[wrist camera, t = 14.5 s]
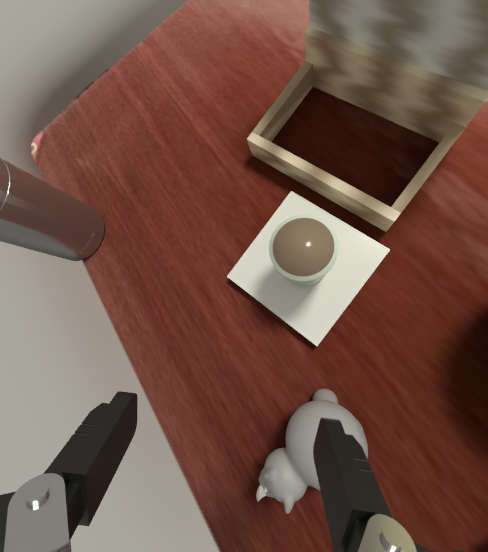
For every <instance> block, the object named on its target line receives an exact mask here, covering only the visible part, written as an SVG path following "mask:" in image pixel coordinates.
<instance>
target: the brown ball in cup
mask: <svg viewBox="0 0 488 552" xmlns="http://www.w3.org/2000/svg"><path fill="white" fill-rule="evenodd" d="M338 251H339V241H338V237H337V234H336V232H335V230H334V229H333V227H332V226H331V225H330V224H329V223H328V222H327V221H325V220H324V219H322V218H320V217H318V216H314V215H309V214H301V215H295V216H292V217H290V218H288V219H286V220H284V221H283V222H281V223H280V224H279V225H278V226H277V227H276V229H275V230H274V232H273V233H272V235H271V238H270V242H269V255H270V259H271V261H272V263H273V265H274V267H275V268H276V270H277V271H278V272H279V273H280V274H281V275H283V276H284V277H286V278H287V279H288V280H289V281H290V282H292V283H293V284H295V285H298V286H303V287H306V286H312V285H315V284H317V283H318V282H320V281H321V280H322V279H323V277H324V276H325V275H326V274H327V273H328V272H329V271H330V269H331V268H332V267H333V265H334V263H335V261H336V259H337V256H338Z"/></svg>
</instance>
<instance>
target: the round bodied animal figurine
mask: <svg viewBox="0 0 488 552" xmlns="http://www.w3.org/2000/svg"><path fill="white" fill-rule="evenodd" d="M321 418H330V419H338V420H340V421H341V424H342V426H343V429H344V431H345V434H349V435H353V436H354V438H355V439H356V440H357V441H358V442H359V444H360V445H361V446H362V448H363V450H364V453H365V455H366V457H367V460H368V447H367V441H366V438H365V435H364V431H363V428H362V426H361V424H360V423H359V421H358V420H356V419H355V417H354V416H353V415H352V414H351V413H350V412H349V411H348V410H346V409H345V408H344V407H342V406H340V405H338V400H337V397H336V395H335V394H334V393H333V392H332V391H331V390H329V389H320V390H318V391H316V392H315V394H314V396H313V401H311V402H308V403H306V404H304V405H302V406H301V407H299V408H298V409H297V410H296V411H295V412H294V414H293V415H292V417H291V418H290V421H289V423H288V426H287V430H286V448H279V449H276V450H274V451H273V452H272V453H271V454H270V455H269V456H268V457H267V459H266V461H265V467H264V468H263V469H262V471H261V474H260V476H259V482H260V486H259V488H258V490H257V494H256V498H257V501H259V500H260V499H261V498H263V497H264V496H269V497H272V498H275V499H276V500H278V501H280V502H284V503H285V512H286V513H287V514H289V513H290V511H291V510H292V508H293V505H294V502H296V501H298V500H299V499H300V498H301V497H302V496H303V495H304V493H305V491H306V488H307V486H312V487H314V488H316V489H318V490H320V486H319V481H318V477H317V473H316V468H315V464H314V458H313V446H314V441H315V437H316V433H317V429H318V425H319V421H320V419H321ZM320 491H321V490H320Z"/></svg>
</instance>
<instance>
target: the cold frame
mask: <svg viewBox="0 0 488 552" xmlns="http://www.w3.org/2000/svg"><path fill="white" fill-rule="evenodd" d="M309 9H310V27H309V28H308V30H307V31H306V32H305V62H304V63H303V65H302V66H301V67H300V69H299V70H298V71H297V73H296V74H295V75H294V77H293V78H292V79H291V81H290V82H289V83H288V85H287V86H286V87H285V89H284V90H283V91H282V93H281V94H280V95H279V97H278V98H277V99H276V101H275V102H274V103H273V105H272V106H271V107H270V109H269V110H268V111H267V113H266V114H265V115H264V117H263V118H262V119H261V121H260V122H259V123H258V125H257V126H256V127H255V129H254V130H253V131H252V133H251V134H250V135H249V137H248V138H247V142H248V145H249V147H250V150H251V153H252V155H253V156H255V157H256V158H258V159H260V160H262V161H263V162H265V163H267V164H269V165H270V166H272V167H274V168H275V169H277V170H279V171H281V172H282V173H284V174H286V175H288V176H289V177H291V178H293V179H295V180H296V181H298V182H300V183H302V184H303V185H305V186H307V187H308V188H310V189H312V190H314V191H315V192H317V193H319V194H321V195H322V196H324V197H326V198H328V199H329V200H331V201H333V202H334V203H336V204H338V205H340V206H341V207H343V208H345V209H347V210H348V211H350V212H352V213H354V214H355V215H357V216H359V217H361V218H362V219H364V220H366V221H367V222H369V223H371V224H373V225H374V226H376V227H378V228H380V229H381V230H383V231H385V232H387V231H388V229H389V228H390V227H391V226H392V224H393V223H394V222H395V220H396V219H397V218H398V216H399V215H400V214H401V212H402V211H403V210H404V209H405V207H406V206H407V205H408V203H409V202H410V201H411V199H412V198H413V197H414V195H415V194H416V193H417V191H418V190H419V189H420V187H421V186H422V185H423V183H424V182H425V181H426V179H427V178H428V177H429V175H430V174H431V173H432V171H433V170H434V169H435V167H436V166H437V165H438V163H439V162H440V161H441V160H442V158H443V157H444V156H445V154H446V153H447V152H448V150H449V149H450V148H451V146H452V145H453V144H454V142H455V141H456V140H457V138H458V137H459V136H460V134H461V133H462V132H463V130H464V129H465V128H466V126H467V125H468V124H469V123H470V121H471V120H472V119H473V117H474V116H475V115H476V114H477V112H478V111H479V110H480V108H481V107H482V106H483V105H484V103H485V102H486V101H487V99H488V0H309ZM312 87H315V88H317V89H319V90H322V91H324V92H326V93H328V94H331V95H333V96H335V97H337V98H340V99H342V100H344V101H346V102H349V103H351V104H353V105H355V106H358V107H360V108H362V109H365V110H367V111H369V112H371V113H374V114H376V115H378V116H380V117H383V118H385V119H387V120H389V121H392V122H394V123H396V124H398V125H401V126H403V127H405V128H407V129H410V130H412V131H414V132H416V133H419V134H421V135H423V136H426V137H428V138H430V139H432V140H435V141H437V142H439V144H438V146H437V147H436V148H435V150H434V151H433V152H432V154H431V155H430V156H429V158H428V159H427V160H426V162H425V163H424V164H423V166H422V167H421V168H420V170H419V171H418V172H417V174H416V175H415V176H414V178H413V179H412V180H411V182H410V183H409V184H408V186H407V187H406V188H405V189H404V191H403V192H402V193H401V195H400V196H399V197H398V199H397V200H396V201H395V203H394V204H393V205H392V207H389V206H388V205H386V204H384V203H382V202H380V201H378V200H376V199H375V198H373V197H371V196H369V195H367V194H365V193H364V192H362V191H360V190H358V189H356V188H354V187H353V186H351V185H349V184H347V183H345V182H343V181H342V180H340V179H338V178H336V177H334V176H332V175H331V174H329V173H327V172H325V171H323V170H321V169H319V168H318V167H316V166H314V165H312V164H310V163H308V162H307V161H305V160H303V159H301V158H299V157H297V156H296V155H294V154H292V153H290V152H288V151H286V150H285V149H283V148H281V147H279V146H277V145H275V144H274V143H272V140H273V139H274V138H275V136H276V135H277V134H278V132H279V131H280V130H281V128H282V127H283V126H284V124H285V123H286V122H287V120H288V119H289V118H290V116H291V115H292V114H293V112H294V111H295V110H296V108H297V107H298V106H299V104H300V103H301V102H302V100H303V99H304V98H305V96H306V95H307V94H308V92H309V91H310V90H311V88H312Z"/></svg>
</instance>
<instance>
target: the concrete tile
mask: <svg viewBox="0 0 488 552" xmlns="http://www.w3.org/2000/svg"><path fill="white" fill-rule="evenodd" d="M301 214H309V215H314V216H318V217H320V218H322V219H324V220H325V221H327V222H328V223H329V224H330V225H331V226H332V227H333V229H334V230H335V232H336V234H337V237H338V241H339V251H338V256H337V259H336V261H335V263H334V265H333V267H332V268H331V269H330V271H329V272H328V273H327V274H326V275H325V276H324V277H323V279H322V280H321V281H320V282H318V283H317V284H315V285H312V286H306V287H303V286H298V285H295V284H293V283H292V282H290V281H289V280H288V279H287V278H286V277H284V276H283V275H281V274H280V273H279V272H278V271H277V270H276V268H275V267H274V265H273V263H272V261H271V259H270V255H269V242H270V238H271V235H272V233H273V232H274V230H275V229H276V227H277V226H278V225H279V224H280V223H281V222H283V221H284V220H286V219H288V218H290V217H292V216H295V215H301ZM389 251H390V249H388V248H387V247H385V246H383V245H382V244H380V243H378V242H377V241H375V240H373V239H372V238H370V237H368V236H366V235H365V234H363V233H361V232H360V231H358V230H356V229H355V228H353V227H351V226H350V225H348V224H346V223H345V222H343V221H341V220H340V219H338V218H336V217H334V216H333V215H331V214H329V213H328V212H326V211H324V210H323V209H321V208H319V207H318V206H316V205H314V204H313V203H311V202H309V201H308V200H306V199H304V198H303V197H301V196H299V195H297V194H296V193H294V192H292V191H291V192H290V193H289V195H288V196H287V197H286V199H285V200H284V201H283V203H282V204H281V205H280V207H279V208H278V209H277V211H276V212H275V213H274V215H273V216H272V217H271V219H270V220H269V221H268V223H267V224H266V225H265V227H264V228H263V229H262V231H261V232H260V233H259V235H258V236H257V237H256V239H255V240H254V241H253V243H252V244H251V245H250V247H249V248H248V249H247V251H246V252H245V253H244V255H243V256H242V257H241V259H240V260H239V261H238V263H237V264H236V265H235V267H234V268H233V269H232V271H231V272H230V273H229V275H228V276H227V277H228V278H229V279H231V280H232V281H233V282H234V283H236V284H237V285H238V286H240V287H241V288H242V289H243V290H245V291H246V292H247V293H249V294H250V295H251V296H252V297H254V298H255V299H256V300H258V301H259V302H260V303H262V304H263V305H264V306H265V307H267V308H268V309H269V310H271V311H272V312H273V313H274V314H276V315H277V316H278V317H280V318H281V319H282V320H283V321H285V322H286V323H287V324H289V325H290V326H291V327H292V328H294V329H295V330H296V331H298V332H299V333H300V334H302V335H303V336H304V337H305V338H307V339H308V340H309V341H311V342H312V343H313V344H314V345H316V346H318V345H319V343H320V342H321V341H322V339H323V338H324V337H325V335H326V334H327V333H328V331H329V330H330V329H331V327H332V326H333V325H334V323H335V322H336V321H337V319H338V318H339V317H340V316H341V314H342V313H343V312H344V310H345V309H346V308H347V306H348V305H349V304H350V302H351V301H352V300H353V298H354V297H355V296H356V294H357V293H358V292H359V290H360V289H361V288H362V286H363V285H364V284H365V282H366V281H367V280H368V278H369V277H370V276H371V274H372V273H373V272H374V271H375V269H376V268H377V267H378V265H379V264H380V263H381V261H382V260H383V259H384V257H385V256H386V255H387V253H388V252H389Z"/></svg>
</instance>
